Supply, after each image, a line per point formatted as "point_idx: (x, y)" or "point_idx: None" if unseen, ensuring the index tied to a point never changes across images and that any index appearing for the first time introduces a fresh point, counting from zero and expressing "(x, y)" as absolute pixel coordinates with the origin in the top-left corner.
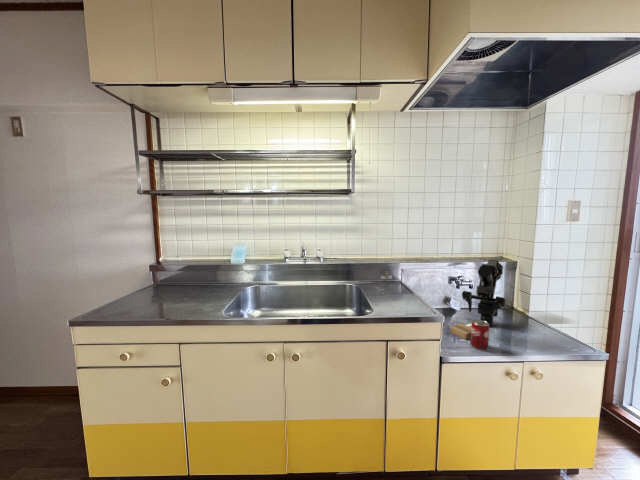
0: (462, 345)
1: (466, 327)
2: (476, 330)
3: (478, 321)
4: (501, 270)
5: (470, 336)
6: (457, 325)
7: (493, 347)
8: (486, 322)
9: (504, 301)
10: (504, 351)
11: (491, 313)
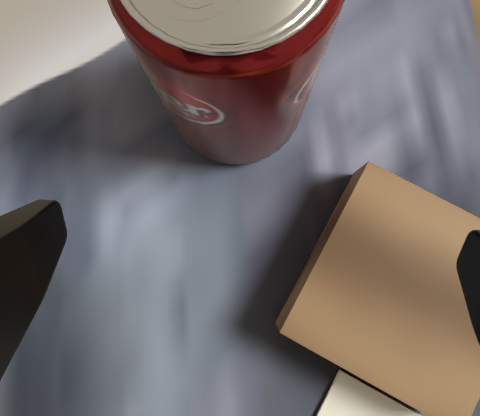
0: (353, 52)
1: (393, 345)
2: None
3: None
4: None
5: (323, 233)
6: None
7: (136, 160)
8: (142, 16)
9: None
10: (60, 136)
11: (17, 222)
